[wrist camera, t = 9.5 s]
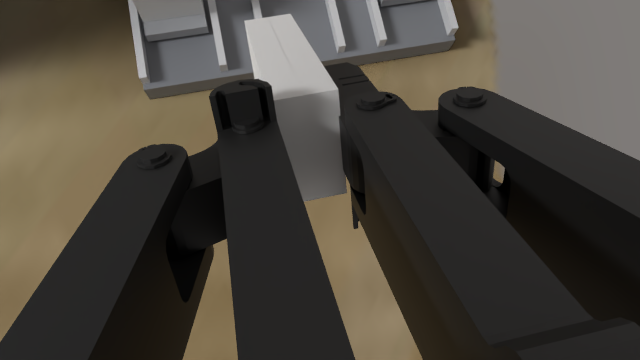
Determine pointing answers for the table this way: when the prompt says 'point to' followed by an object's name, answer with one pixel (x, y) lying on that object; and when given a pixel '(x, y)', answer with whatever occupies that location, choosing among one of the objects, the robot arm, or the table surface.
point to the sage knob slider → (395, 2)
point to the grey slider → (172, 18)
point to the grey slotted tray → (315, 23)
